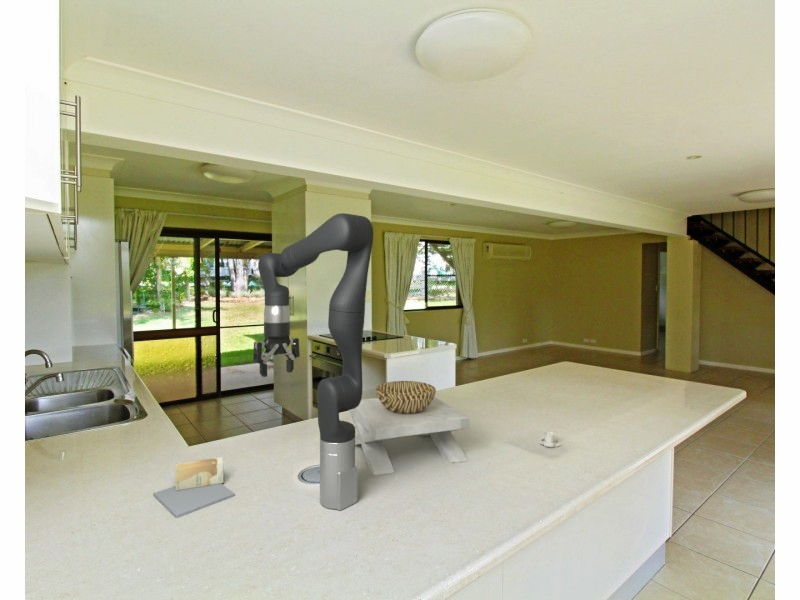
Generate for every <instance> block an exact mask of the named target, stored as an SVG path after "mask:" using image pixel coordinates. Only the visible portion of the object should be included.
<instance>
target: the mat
mask: <svg viewBox="0 0 800 600" xmlns="http://www.w3.org/2000/svg"><path fill="white" fill-rule="evenodd" d="M152 495H153V497H154V498H155V499H156V500H157V501H159V503H160V504H161V505H162V506H163V507H164V508H165V509H166V510H168V512H169V513H170V514H171V515H172V516H173V517H174V518H175V519H178V518H180V517H183V516H186V515H188V514H191V513H194V512H196V511H199V510H201V509H204V508H207V507H209V506H211V505H215V504H217V503H220V502H222V501H225V500H227V499H231V498H233V497H235V496H236V494H235V492H233V491H232V490H231V489H229V488H228V487H226V486H225V485H224V484H223V483H220V484H214V485H208V486H202V487H196V488H190V489H184V490H178V491H176V485H174V486H171V487H167V488H165V489H162V490H159V491H157V492H153V493H152Z"/></svg>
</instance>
